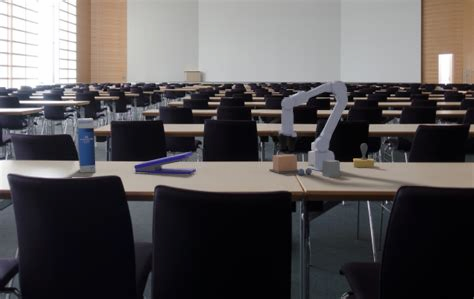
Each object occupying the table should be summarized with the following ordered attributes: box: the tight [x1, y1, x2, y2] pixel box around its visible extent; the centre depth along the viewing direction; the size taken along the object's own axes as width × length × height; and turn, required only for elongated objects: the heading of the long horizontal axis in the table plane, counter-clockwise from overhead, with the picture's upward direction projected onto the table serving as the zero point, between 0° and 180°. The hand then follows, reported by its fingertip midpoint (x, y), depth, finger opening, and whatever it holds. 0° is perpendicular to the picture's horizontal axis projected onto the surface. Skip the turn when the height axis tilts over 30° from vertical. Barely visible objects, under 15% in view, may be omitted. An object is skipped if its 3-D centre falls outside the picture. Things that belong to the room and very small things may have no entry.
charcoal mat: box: [269, 168, 299, 175], centre depth 255 cm, size 12×10×1 cm
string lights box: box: [76, 117, 97, 174], centre depth 262 cm, size 13×8×26 cm, turn 18°
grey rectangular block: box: [321, 159, 341, 178], centre depth 241 cm, size 6×6×7 cm
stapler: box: [134, 151, 196, 175], centre depth 258 cm, size 12×28×10 cm, turn 78°
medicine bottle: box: [307, 141, 316, 167], centre depth 275 cm, size 7×7×12 cm
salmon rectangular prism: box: [272, 153, 298, 171], centre depth 254 cm, size 10×6×7 cm, turn 112°
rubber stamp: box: [352, 143, 375, 168], centre depth 268 cm, size 10×6×12 cm, turn 79°
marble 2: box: [304, 167, 313, 175], centre depth 246 cm, size 3×3×3 cm
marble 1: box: [297, 168, 305, 176], centre depth 245 cm, size 3×3×3 cm
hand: (287, 150), depth 260 cm, fingers open, 7 cm apart
